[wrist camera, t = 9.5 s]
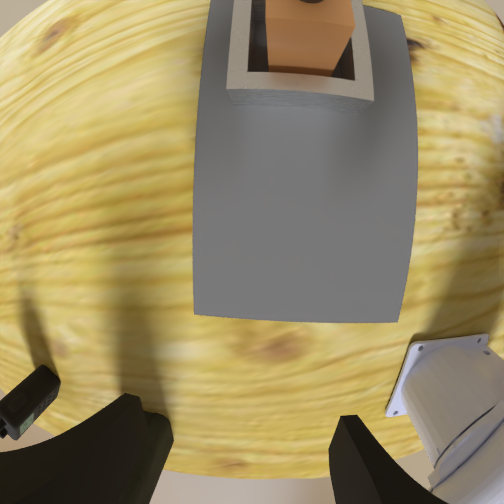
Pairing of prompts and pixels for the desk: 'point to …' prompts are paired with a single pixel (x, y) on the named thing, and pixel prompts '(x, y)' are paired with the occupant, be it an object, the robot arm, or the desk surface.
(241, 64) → the end holder
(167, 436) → the black nozzle bottle
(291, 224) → the mat
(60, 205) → the desk surface
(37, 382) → the walkie-talkie
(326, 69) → the connector plug
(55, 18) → the desk surface
